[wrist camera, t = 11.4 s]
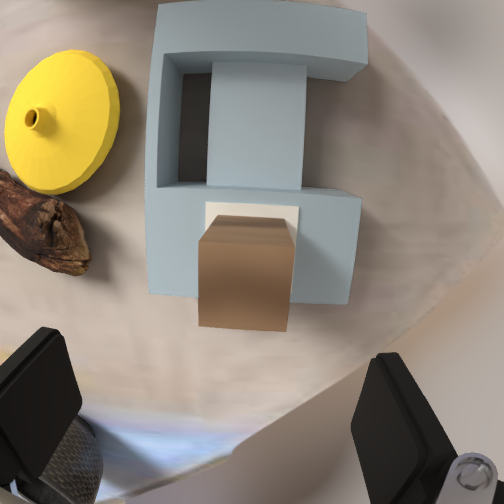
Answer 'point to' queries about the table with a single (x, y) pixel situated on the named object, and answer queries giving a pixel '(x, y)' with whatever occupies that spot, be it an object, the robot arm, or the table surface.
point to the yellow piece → (62, 121)
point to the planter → (68, 470)
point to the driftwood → (42, 229)
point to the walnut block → (245, 273)
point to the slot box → (249, 136)
